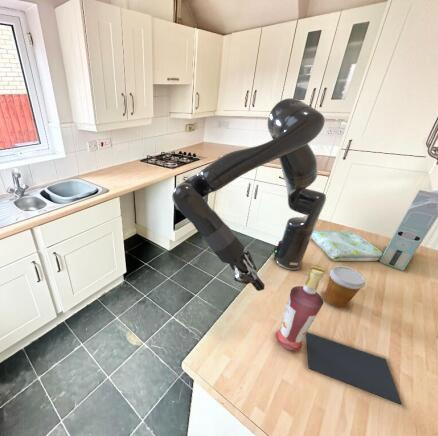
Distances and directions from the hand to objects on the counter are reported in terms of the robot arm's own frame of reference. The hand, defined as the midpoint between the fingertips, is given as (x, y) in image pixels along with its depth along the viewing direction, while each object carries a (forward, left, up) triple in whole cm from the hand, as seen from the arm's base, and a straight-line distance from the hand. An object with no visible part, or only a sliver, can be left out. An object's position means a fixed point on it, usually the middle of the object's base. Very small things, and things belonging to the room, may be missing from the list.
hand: (261, 288), depth 68 cm
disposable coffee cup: (+8, +35, -17) cm, 40 cm away
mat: (+21, +14, -17) cm, 30 cm away
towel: (-6, +70, -17) cm, 72 cm away
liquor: (+9, +6, -17) cm, 20 cm away
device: (+9, +82, -17) cm, 84 cm away
